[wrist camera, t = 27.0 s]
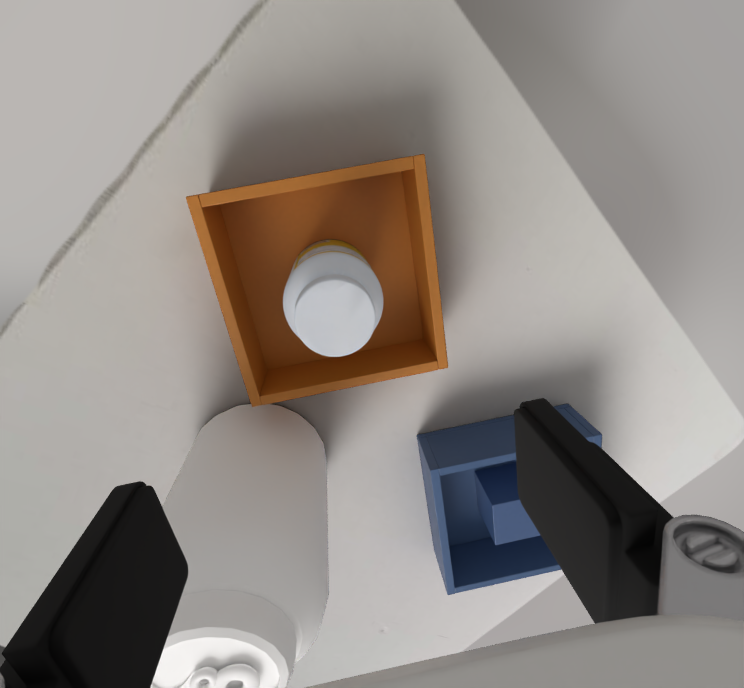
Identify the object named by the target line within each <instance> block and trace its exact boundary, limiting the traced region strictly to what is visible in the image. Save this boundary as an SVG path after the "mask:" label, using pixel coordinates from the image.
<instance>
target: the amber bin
mask: <svg viewBox="0 0 744 688" xmlns="http://www.w3.org/2000/svg"><path fill="white" fill-rule="evenodd" d="M186 200H187V203H188V206H189V209H190V212H191V215H192V219H193V222H194V225H195V228H196V231H197V234H198V238H199V241H200V244H201V247H202V250H203V253H204V257H205V260H206V263H207V266H208V269H209V272H210V276H211V279H212V282H213V285H214V288H215V291H216V295H217V298H218V301H219V304H220V307H221V310H222V314H223V317H224V320H225V323H226V326H227V329H228V333H229V336H230V339H231V342H232V345H233V348H234V352H235V355H236V358H237V361H238V364H239V367H240V371H241V374H242V377H243V380H244V383H245V386H246V390H247V393H248V396H249V399H250V402H251V405H252V407H256V406H261V405H266V404H271V403H276V402H281V401H286V400H291V399H296V398H301V397H306V396H311V395H316V394H320V393H325V392H330V391H335V390H340V389H345V388H350V387H355V386H360V385H365V384H370V383H375V382H380V381H385V380H390V379H395V378H400V377H405V376H410V375H415V374H420V373H425V372H430V371H434V370H438V369H444V368H448V361H447V352H446V343H445V334H444V325H443V316H442V307H441V297H440V288H439V279H438V270H437V261H436V252H435V243H434V234H433V225H432V216H431V207H430V198H429V189H428V180H427V171H426V162H425V155H424V154H420V155H415V156H409V157H403V158H398V159H392V160H387V161H381V162H376V163H370V164H365V165H359V166H354V167H348V168H342V169H337V170H331V171H326V172H320V173H315V174H309V175H304V176H298V177H293V178H287V179H281V180H276V181H270V182H265V183H259V184H254V185H248V186H243V187H237V188H232V189H226V190H220V191H215V192H209V193H204V194H199V195H193V196H187V197H186ZM325 239H337V240H342V241H345V242H347V243H349V244H351V245H353V246H354V247H356V248H357V249H358V250H359V251H360V252H361V253H362V254H363V256H364V257H365V258H366V260H367V262H368V263H369V265H370V266H371V268H372V270H373V271H374V273H375V275H376V277H377V278H378V280H379V283H380V285H381V288H382V292H383V311H382V315H381V318H380V321H379V323H378V325H377V327H376V328H375V330H374V331H373V333H372V335H371V337H370V339H369V340H368V342H367V343H366V344H365V345H364V346H363V347H362V348H360V349H359V350H357V351H356V352H354V353H352V354H349V355H346V356H341V357H329V356H324V355H321V354H318V353H316V352H314V351H312V350H311V349H310V348H308V347H307V346H306V345H305V344H304V343H303V341H302V340H301V339H300V338H299V337H298V336H297V335H296V334H295V333H294V332H293V331H292V329H291V328H290V326H289V324H288V322H287V320H286V317H285V314H284V309H283V294H284V290H285V286H286V283H287V281H288V278H289V275H290V273H291V270H292V267H293V264H294V262H295V260H296V258H297V257H298V255H299V254H300V253H301V252H302V251H303V250H304V249H305V248H306V247H307V246H309V245H311V244H312V243H314V242H317V241H320V240H325Z"/></svg>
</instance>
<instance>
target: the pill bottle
mask: <svg viewBox="0 0 744 688" xmlns="http://www.w3.org/2000/svg"><path fill="white" fill-rule="evenodd" d="M283 309H284V314H285V317H286V320H287V322H288V324H289V326H290V328H291V329H292V331H293V332H294V333H295V334H296V335H297V336H298V337H299V338H300V339H301V340H302V341H303V343H304V344H305V345H306V346H307V347H308V348H310V349H311V350H312V351H314V352H316V353H318V354H321V355H324V356H329V357H341V356H346V355H349V354H352V353H354V352H356V351H357V350H359V349H360V348H362V347H363V346H364V345H365V344H366V343H367V342H368V340H369V339H370V337H371V335H372V333H373V331H374V330H375V328H376V327H377V325H378V323H379V321H380V318H381V315H382V311H383V292H382V288H381V285H380V283H379V280H378V278H377V277H376V275H375V273H374V271H373V270H372V268H371V266H370V265H369V263H368V262H367V260H366V258H365V257H364V256H363V254H362V253H361V252H360V251H359V250H358V249H357V248H356V247H354V246H353V245H351V244H349V243H347V242H345V241H342V240H337V239H325V240H320V241H317V242H314V243H312V244H311V245H309V246H307V247H306V248H305V249H304V250H303V251H302V252H301V253H300V254H299V255H298V257H297V258H296V260H295V262H294V264H293V267H292V270H291V273H290V275H289V278H288V281H287V283H286V286H285V290H284V294H283Z"/></svg>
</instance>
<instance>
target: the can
mask: <svg viewBox="0 0 744 688" xmlns="http://www.w3.org/2000/svg"><path fill="white" fill-rule="evenodd" d="M162 508H163V510H164V512H165V515H166V517H167V519H168V521H169V523H170V526H171V528H172V530H173V532H174V534H175V537H176V539H177V541H178V543H179V545H180V548H181V550H182V552H183V554H184V556H185V559H186V561H187V564H188V578H187V581H186V584H185V587H184V590H183V593H182V596H181V599H180V602H179V605H178V608H177V611H176V613H175V616H174V619H173V622H172V625H171V628H170V631H169V634H168V637H167V640H166V643H165V646H164V649H163V652H162V655H161V658H160V661H159V663H158V666H157V669H156V672H155V675H154V678H153V681H152V684H151V687H150V688H286V687H287V685H288V682H289V680H290V678H291V676H292V672H293V668H294V664H295V663H296V662H297V661H299V660H300V659H301V658H302V657H303V656H304V655H305V654H306V653H307V651H308V650H309V648H310V647H311V646H312V644H313V643H314V642H315V640H316V639H317V637H318V633H319V630H320V626H321V623H322V619H323V615H324V611H325V607H326V603H327V599H328V595H329V577H328V515H327V460H326V454H325V448H324V443H323V442H322V440H321V438H320V437H319V435H318V433H317V431H316V430H315V428H314V427H313V426H312V425H311V424H309V423H308V422H307V421H306V420H305V419H304V418H302V417H301V416H300V415H299V414H298V413H295V412H293V411H291V410H288V409H286V408H284V407H282V406H279V405H271V404H266V405H261V406H256V407H252V405H251V404H246V405H239V406H236V407H234V408H231V409H229V410H227V411H225V412H223V413H220V414H218V415H216V416H215V417H214V418H213V419H211V420H210V421H209V422H208V423H207V424H206V425H205V426H204V427H203V428H201V430H200V432H199V434H198V436H197V438H196V440H195V441H194V443H193V445H192V447H191V449H190V451H189V453H188V455H187V458H186V460H185V462H184V464H183V466H182V468H181V470H180V472H179V474H178V476H177V478H176V480H175V482H174V484H173V486H172V488H171V490H170V492H169V494H168V496H167V498H166V500H165V502H164V504H163V506H162Z"/></svg>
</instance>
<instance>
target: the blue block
mask: <svg viewBox="0 0 744 688" xmlns="http://www.w3.org/2000/svg"><path fill="white" fill-rule="evenodd" d="M474 473H475V484H476V494H477V505H478V510H479V512H480V514H481V516H482V518H483V520H484V522H485V524H486V526H487V529H488V531H489V533H490V535H491V537H492V539H493V541H494V543H495V545H499V544H504V543H508V542H513V541H517V540H522V539H526V538H531V537H535V536H540V533H539V532H538V530H537V529H536V527H535V525H534V524H533V522H532V520H531V519H530V517H529V516H528V514H527V512H526V511H525V509H524V507H523V506H522V504H521V502H520V499H519V495H518V487H517V466H516V462H515V463H511V464H506V465H501V466H496V467H492V468H487V469H482V470H478V471H474Z"/></svg>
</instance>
